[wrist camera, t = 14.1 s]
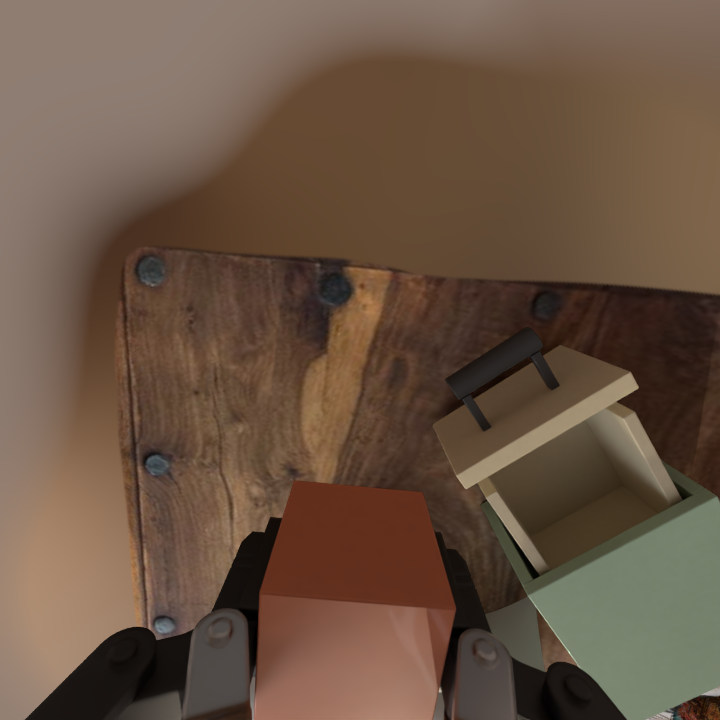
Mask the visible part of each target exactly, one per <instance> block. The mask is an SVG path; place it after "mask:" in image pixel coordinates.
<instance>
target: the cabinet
mask: <svg viewBox="0 0 720 720" xmlns="http://www.w3.org/2000/svg"><path fill="white" fill-rule="evenodd" d="M661 461H662V460H661ZM662 463H663V465H664V467H665V469H666V471H667V472H668V474H669V476H670V478H671V480H672V482H673V483H674V485H675V487H676V489H677V491H678V493H679V495H680V496H681V498H682V500H683V501H681V502H679V503H677V504H675V505H673V506H672V507H670V508H668V509H666V510H664V511H662V512H660V513H658V514H656V515H655V516H653V517H651V518H649V519H647V520H645V521H643V522H641V523H639V524H638V525H636V526H634V527H632V528H630V529H628V530H626V531H624V532H623V533H621V534H619V535H617V536H615V537H613V538H611V539H609V540H607V541H606V542H604V543H602V544H600V545H598V546H596V547H594V548H592V549H590V550H589V551H587V552H585V553H583V554H581V555H579V556H577V557H575V558H573V559H572V560H570V561H568V562H566V563H564V564H562V565H560V566H558V567H557V568H555V569H553V570H551V571H549V572H547V573H545V574H543V575H541V576H540V575H539V573H538V572H537V571H536V569H535V568H534V566H533V565H532V563H531V562H530V561H529V559H528V558H527V556H526V555H525V553H524V552H523V550H522V549H521V548H520V546H519V545H518V543H517V542H516V540H515V539H514V538H513V536H512V535H511V533H510V532H509V530H508V529H507V528H506V526H505V525H504V523H503V522H502V520H501V519H500V517H499V516H498V515H497V513H496V512H495V510H494V509H493V507H492V506H491V505H490V503H489V502H488V501H486V502H484V503H483V504H481V507H482V509H483V511H484V512H485V514H486V516H487V518H488V520H489V522H490V524H491V526H492V528H493V530H494V532H495V534H496V536H497V538H498V540H499V542H500V543H501V545H502V547H503V549H504V551H505V553H506V555H507V557H508V559H509V561H510V563H511V565H512V567H513V569H514V571H515V572H516V574H517V576H518V578H519V580H520V582H521V584H522V586H523V588H524V590H525V592H526V594H527V596H528V597H529V598H530V600H531V601H532V603H533V604H534V605H535V607H536V608H537V609H538V611H539V612H540V614H541V615H542V616H543V618H544V619H545V621H546V622H547V623H548V625H549V626H550V628H551V629H552V630H553V632H554V633H555V635H556V636H557V637H558V639H559V640H560V641H561V643H562V644H563V646H564V647H565V648H566V650H567V651H568V653H569V654H570V655H571V657H572V658H573V660H574V661H575V662H576V664H577V665H578V667H579V668H580V669H582V670H583V671H585V672H586V673H587V674H589V675H590V676H591V677H592V678H593V679H594V680H595V681H596V682H597V683H598V684H599V686H600V687H601V688H602V689H603V691H604V692H605V693H606V694H607V695H608V697H609V698H610V699H611V700H612V702H613V703H614V704H615V705H616V706H617V708H618V709H619V710H620V711H621V713H622V714H623V715H624V716H625V718H626V719H627V720H646V719H648V718H650V717H653V716H655V715H657V714H659V713H662V712H664V711H666V710H668V709H670V708H673V707H675V706H677V705H679V704H682V703H684V702H686V701H688V700H691V699H693V698H695V697H697V696H699V695H702V694H704V693H706V692H708V691H711V690H713V689H715V688H717V687H719V686H720V501H719V499H718V497H717V496H716V495H715V494H713V493H712V492H710V491H708V490H707V489H705V488H704V487H702V486H701V485H699V484H698V483H696V482H695V481H693V480H691V479H690V478H688V477H687V476H685V475H684V474H682V473H680V472H679V471H677V470H676V469H674V468H673V467H671V466H669V465H668V464H666V463H665V462H663V461H662Z"/></svg>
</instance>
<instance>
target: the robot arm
mask: <svg viewBox="0 0 720 720" xmlns="http://www.w3.org/2000/svg"><path fill="white" fill-rule="evenodd" d="M281 521H282V518H276V517H270V519H269V522H268V525H267V527H266V530H265V533H264V532H252V533H251V534H250V535H248V536H247V537H246V538H245V539H244V540H243V541H242V543H241V545H240V547H239V550H238V552H237V554H236V557H235V559H234V561H233V564H232V567H231V568H230V571H229V573H228V575H227V577H226V580H225V582H224V584H223V587H222V589H221V591H220V594H219V596H218V598H217V601H216V603H215V605H214V608H213V610H212V612H211V613H209V614H208V615H206V616H205V617H204V618H203V619H201V620H200V621H199V623H198V624H197V625H196V627H195V629H193V630H191V631H189V632H187V633H184V634H181V635H178V636H174V637H169V638H165V639H161V640H156V638H155V635H154V634H153V632H152V631H151V630H149V629H147V628H144V627H131V628H127V629H124V630H121V631H119V632H117V633H115V634H113V635H112V636H110V637H109V638H107V639H106V640H105V641H104V642H103V643H101V644H100V645H99V646H98V647H97V648H96V650H94V652H92V653H91V654H90V655H89V656H88V657H87V659H85V660H84V661H83V663H81V664H80V665H79V666H78V667H77V668H76V670H74V671H73V672H72V673H71V674H70V675H69V676H68V677H67V678H66V679H65V680H64V681H63V682H62V683H61V684H60V685H59V686H58V687H57V688H56V689H55V690H54V691H53V692H52V693H51V694H50V695H49V696H48V697H47V698H46V699H45V700H44V701H43V702H42V703H41V704H40V705H39V706H38V707H37V708H36V709H35V710H34V711H33V712H32V713H31V714H30V715H29V716H28V717H27V718H26V719H25V720H252V709H251V706H250V684H251V681H252V677H255V676H256V655H257V634H258V612H259V592H260V589H261V586H262V582H263V579H264V576H265V573H266V569H267V566H268V563H269V560H270V556H271V553H272V550H273V547H274V544H275V540H276V537H277V534H278V531H279V527H280V524H281ZM434 533H435V537H436V540H437V544H438V547H439V550H440V554H441V557H442V561H443V564H444V568H445V571H446V575H447V578H448V582H449V585H450V589H451V592H452V596H453V599H454V603H455V606H456V612H455V617H454V622H453V626H452V631H451V636H450V641H449V645H448V650H447V655H446V660H445V665H444V669H443V674H442V679H441V684H440V689H439V692H442V695H443V700H444V710H443V715H442V720H627V719H626V718H625V716H624V715H623V714H622V713H621V711H620V710H619V709H618V708H617V706H616V705H615V704H614V703H613V702H612V700H611V699H610V698H609V697H608V695H607V694H606V693H605V692H604V691H603V689H602V688H601V687H600V686H599V684H598V683H597V682H596V681H595V680H594V679H593V678H592V677H591V676H590V675H589V674H587V673H586V672H585V671H583V670H582V669H580V668H579V667H577V666H575V665H572V664H570V663H566V662H555V663H553V664H551V665H550V666H549V668H548V670H547V673H546V672H544V671H541V670H539V669H536V668H534V667H531V666H529V665H526V664H524V663H522V662H520V661H518V660H516V659H514V658H513V657H512V656H510V653H509V651H508V650H507V648H506V647H505V645H504V644H503V643H502V642H501V641H500V640H499V639H498V638H497V637H496V636H494V635H493V634H492V632H491V629H490V626H489V624H488V621H487V618H486V616H485V613H484V610H483V607H482V605H481V602H480V599H479V596H478V594H477V591H476V589H475V586H474V583H473V580H472V578H471V575H470V572H469V569H468V566H467V564H466V561H465V560H464V559H463V558H462V557H461V555H460V554H459V553H458V552H457V551H456V550H454V549H446V547H445V544H444V540H443V537H442V534H441V533H440V532H434Z"/></svg>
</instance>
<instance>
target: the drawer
mask: <svg viewBox="0 0 720 720" xmlns="http://www.w3.org/2000/svg"><path fill="white" fill-rule="evenodd" d="M542 348H543V344H542V342H541V340H540V338H539V337H538V335H537V334H536V333H535V332H534V331H533V330H532V329H531V328H529V327H526V328H524V329H523V330H521V331H519V332H518V333H516V334H515V335H513V336H512V337H510V338H509V339H507V340H505V341H504V342H502V343H501V344H499V345H498V346H496V347H494V348H493V349H491V350H490V351H488V352H487V353H485V354H484V355H482V356H480V357H479V358H477V359H476V360H474V361H473V362H471V363H469V364H468V365H466V366H465V367H463V368H462V369H460V370H459V371H457V372H455V373H454V374H452V375H451V376H449V377H448V378H446V379H445V381H446V382H447V384H448V385H449V387H450V388H451V390H452V391H453V393H454V394H455V396H456V397H457V398H458V400H460V399H462V400H463V402H464V403H465V405H463V406H461V407H460V408H458V409H457V410H455V411H453V412H452V413H450V414H449V415H447V416H445V417H444V418H442V419H441V420H439V421H437V422H436V423H434V424H433V425H432V426H433V428H434V430H435V432H436V434H437V436H438V438H439V441H440V443H441V445H442V447H443V449H444V451H445V453H446V455H447V458H448V460H449V462H450V464H451V466H452V468H453V470H454V472H455V474H456V476H457V478H458V479H459V481H460V482H461V483H462V485H463V486H464V488H465V489H468V488H469V487H471V486H473V485H474V484H476V483H478V485H479V486H480V488H481V490H482V492H483V494H484V495H485V497H486V499H487V500H488V502H489V503H490V505H491V506H492V507H493V509H494V510H495V512H496V513H497V515H498V516H499V517H500V519H501V520H502V522H503V523H504V525H505V526H506V528H507V529H508V530H509V532H510V533H511V535H512V536H513V538H514V539H515V540H516V542H517V543H518V545H519V546H520V548H521V549H522V550H523V552H524V553H525V555H526V556H527V558H528V559H529V561H530V562H531V563H532V565H533V566H534V568H535V569H536V571H537V572H538V573H539V575H540V576H541V575H543V574H545V573H547V572H549V571H551V570H553V569H555V568H557V567H558V566H560V565H562V564H564V563H566V562H568V561H570V560H572V559H573V558H575V557H577V556H579V555H581V554H583V553H585V552H587V551H589V550H590V549H592V548H594V547H596V546H598V545H600V544H602V543H604V542H606V541H607V540H609V539H611V538H613V537H615V536H617V535H619V534H621V533H623V532H624V531H626V530H628V529H630V528H632V527H634V526H636V525H638V524H639V523H641V522H643V521H645V520H647V519H649V518H651V517H653V516H655V515H656V514H658V513H660V512H662V511H664V510H666V509H668V508H670V507H672V506H673V505H675V504H677V503H679V502H681V501H683V500H682V498H681V496H680V495H679V493H678V491H677V489H676V487H675V485H674V483H673V482H672V480H671V478H670V476H669V474H668V472H667V471H666V469H665V467H664V465H663V463H662V461H661V459H660V458H659V456H658V454H657V452H656V450H655V448H654V446H653V445H652V443H651V441H650V439H649V437H648V435H647V433H646V432H645V430H644V428H643V426H642V424H641V422H640V420H639V419H638V417H637V415H636V413H635V412H634V411H633V410H631V409H629V408H627V407H625V406H623V405H621V404H619V403H617V402H616V401H618V400H620V399H621V398H623V397H625V396H626V395H628V394H630V393H632V392H633V391H635V390H637V389H638V388H639V387H638V385H637V383H636V381H635V379H634V377H633V375H632V374H631V372H630V371H627V370H624V369H622V368H619V367H617V366H614V365H611V364H609V363H606V362H604V361H601V360H598V359H596V358H593V357H591V356H588V355H585V354H583V353H580V352H578V351H575V350H572V349H570V348H567V347H565V346H562V345H559V346H558V347H556V348H554V349H553V350H551V351H550V352H548V353H546V354H545V355H542V354H541V352H540V351H539V350H540V349H542ZM527 357H530V359H531V360H532V363H530V364H529V365H527V366H526V367H524V368H522V369H521V370H519V371H518V372H516V373H514V374H513V375H511V376H509V377H508V378H506V379H505V380H503V381H501V382H500V383H498V384H497V385H495V386H493V387H492V388H490V389H489V390H487V391H485V392H484V393H482V394H481V395H479V396H477V397H476V398H474V399H473V398H472V396H471V395H470V393H472V392H473V391H475V390H476V389H478V388H479V387H481V386H483V385H484V384H486V383H487V382H489V381H491V380H492V379H494V378H495V377H497V376H499V375H500V374H502V373H503V372H505V371H507V370H508V369H510V368H511V367H513V366H515V365H516V364H518V363H519V362H521V361H523V360H524V359H526V358H527Z"/></svg>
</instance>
